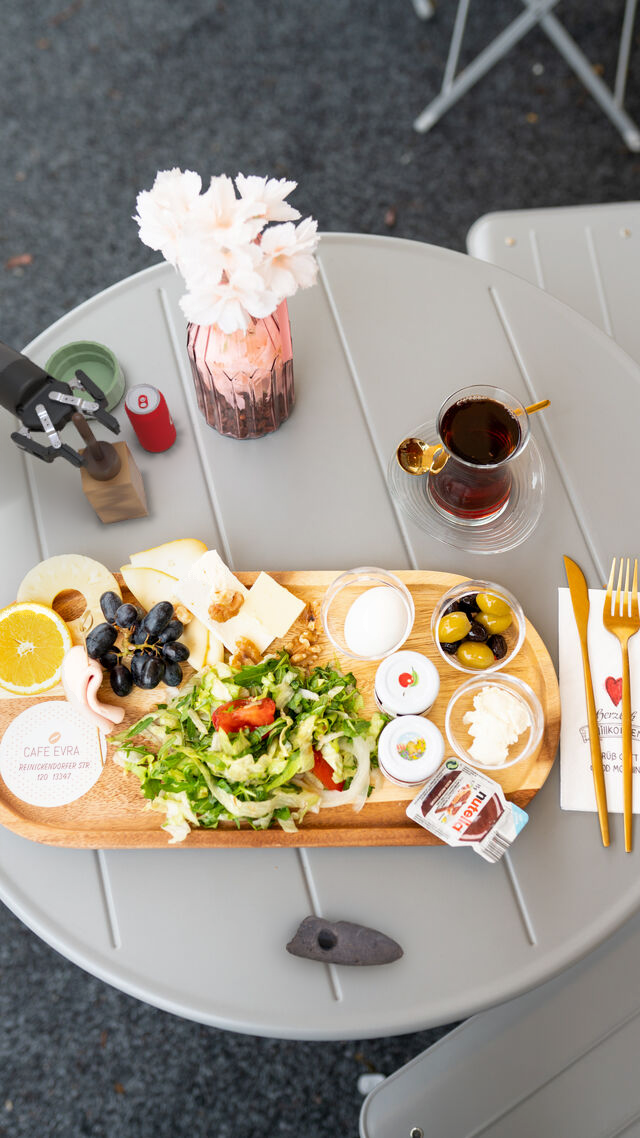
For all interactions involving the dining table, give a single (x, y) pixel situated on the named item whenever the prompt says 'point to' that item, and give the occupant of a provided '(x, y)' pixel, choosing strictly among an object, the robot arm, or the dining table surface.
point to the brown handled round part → (97, 452)
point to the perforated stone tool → (343, 943)
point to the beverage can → (150, 418)
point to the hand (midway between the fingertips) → (101, 447)
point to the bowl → (89, 369)
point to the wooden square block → (117, 490)
